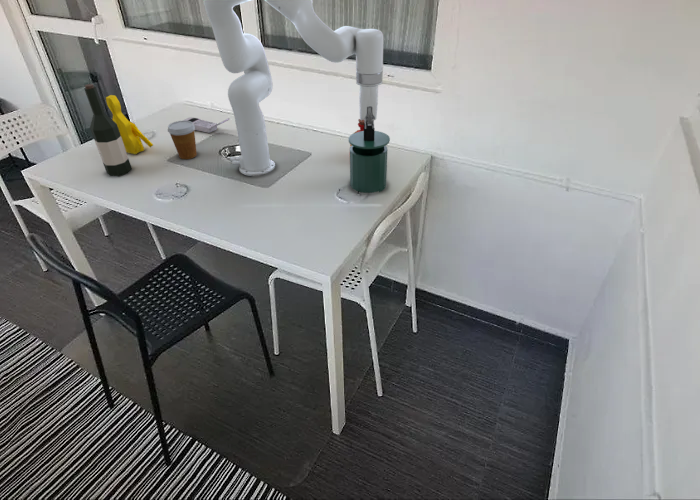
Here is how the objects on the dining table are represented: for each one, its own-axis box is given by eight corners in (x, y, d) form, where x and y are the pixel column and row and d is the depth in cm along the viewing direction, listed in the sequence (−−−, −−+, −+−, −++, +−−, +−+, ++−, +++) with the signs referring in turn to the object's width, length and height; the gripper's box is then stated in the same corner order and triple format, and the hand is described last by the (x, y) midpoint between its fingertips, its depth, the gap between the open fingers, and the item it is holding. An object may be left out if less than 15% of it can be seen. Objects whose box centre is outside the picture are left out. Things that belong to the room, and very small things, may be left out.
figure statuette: (159, 151, 173) (142, 93, 160) (144, 159, 168) (125, 100, 154) (124, 144, 179) (105, 87, 166) (109, 152, 173) (88, 94, 160)
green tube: (350, 194, 145) (349, 157, 137) (350, 177, 155) (349, 141, 147) (386, 194, 145) (388, 156, 137) (384, 176, 154) (386, 140, 147)
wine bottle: (137, 168, 162) (109, 82, 144) (118, 178, 156) (87, 90, 138) (120, 164, 165) (90, 80, 147) (101, 173, 159) (68, 87, 141)
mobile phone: (221, 122, 179) (173, 113, 188) (223, 137, 183) (176, 126, 192) (230, 117, 184) (183, 108, 193) (232, 131, 187) (186, 122, 196)
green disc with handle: (348, 151, 136) (347, 129, 132) (348, 134, 146) (348, 113, 142) (391, 150, 135) (391, 129, 131) (388, 133, 146) (389, 113, 142)
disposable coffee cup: (169, 159, 168) (160, 128, 161) (186, 148, 175) (178, 118, 168) (190, 163, 165) (182, 131, 158) (206, 152, 172) (199, 121, 165)
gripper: (356, 69, 135) (356, 128, 146) (356, 86, 122) (357, 149, 134) (381, 69, 135) (379, 128, 146) (384, 86, 122) (382, 149, 133)
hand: (368, 138), depth 140 cm, fingers closed on green disc with handle, 2 cm apart
